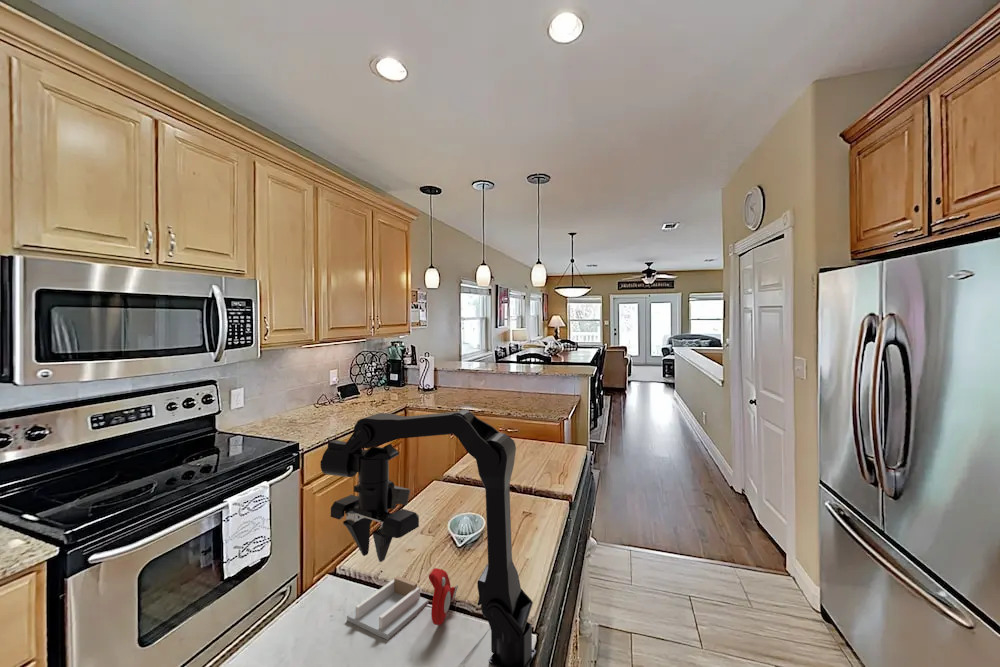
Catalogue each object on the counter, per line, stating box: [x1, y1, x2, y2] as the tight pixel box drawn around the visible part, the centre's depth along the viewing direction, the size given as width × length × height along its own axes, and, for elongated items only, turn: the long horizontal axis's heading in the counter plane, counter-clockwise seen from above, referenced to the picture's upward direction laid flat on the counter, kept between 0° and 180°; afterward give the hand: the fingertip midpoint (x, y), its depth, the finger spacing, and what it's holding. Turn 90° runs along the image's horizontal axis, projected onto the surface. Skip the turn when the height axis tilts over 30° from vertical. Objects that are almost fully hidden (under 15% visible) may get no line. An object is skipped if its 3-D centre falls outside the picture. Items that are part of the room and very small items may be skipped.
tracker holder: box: [428, 567, 459, 626], centre depth 87 cm, size 12×4×10 cm, turn 166°
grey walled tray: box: [346, 575, 429, 641], centre depth 88 cm, size 11×12×4 cm
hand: (373, 557), depth 84 cm, fingers open, 4 cm apart
